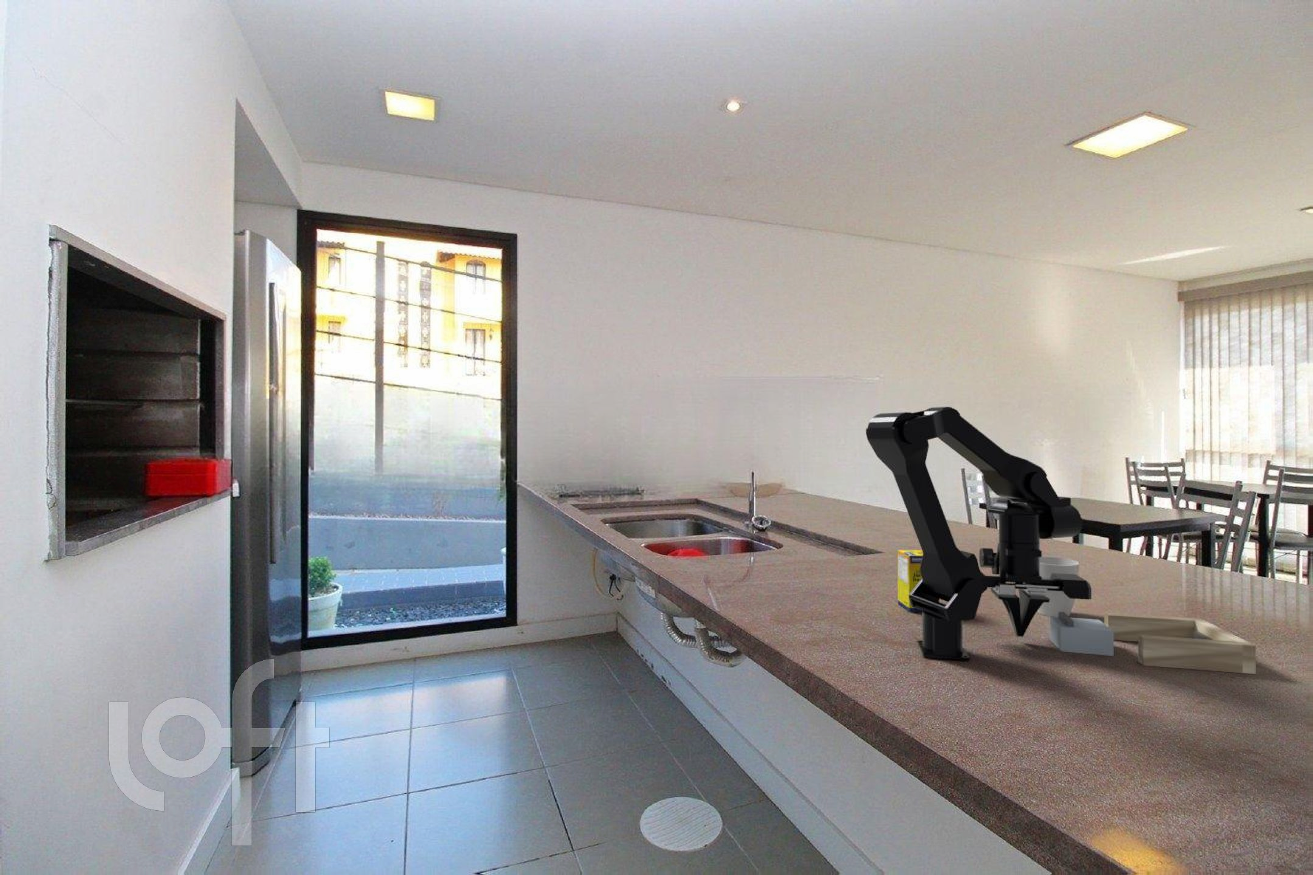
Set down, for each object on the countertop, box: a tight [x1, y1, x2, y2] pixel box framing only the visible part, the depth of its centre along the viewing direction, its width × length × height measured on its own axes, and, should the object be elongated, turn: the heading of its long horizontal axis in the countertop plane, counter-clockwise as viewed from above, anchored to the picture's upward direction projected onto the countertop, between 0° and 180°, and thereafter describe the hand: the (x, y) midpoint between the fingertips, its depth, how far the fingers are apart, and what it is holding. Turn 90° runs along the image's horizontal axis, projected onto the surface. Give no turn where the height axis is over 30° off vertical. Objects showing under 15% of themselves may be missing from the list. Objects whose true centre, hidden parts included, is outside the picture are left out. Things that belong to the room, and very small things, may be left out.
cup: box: [1037, 556, 1080, 617], centre depth 115 cm, size 8×8×10 cm
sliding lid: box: [1049, 612, 1115, 657], centre depth 98 cm, size 6×7×5 cm
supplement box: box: [897, 549, 923, 613], centre depth 120 cm, size 6×6×11 cm
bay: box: [1103, 612, 1257, 675], centre depth 94 cm, size 13×14×4 cm
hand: (1019, 635), depth 100 cm, fingers closed
